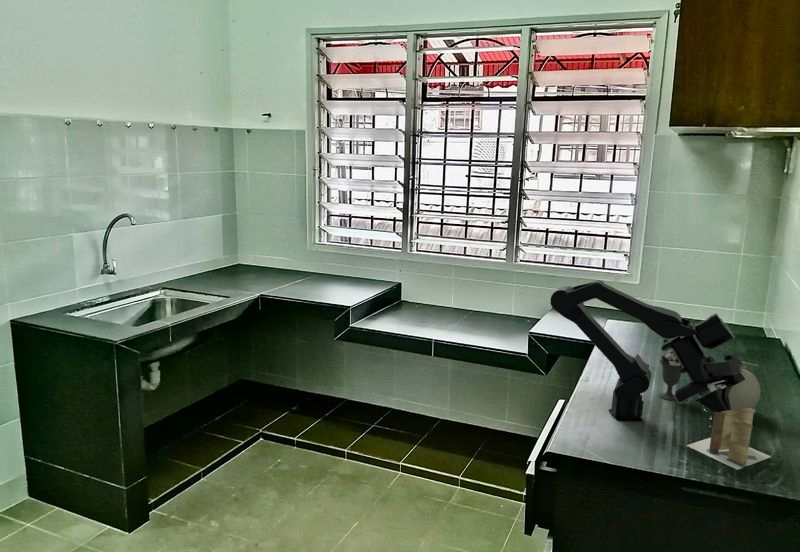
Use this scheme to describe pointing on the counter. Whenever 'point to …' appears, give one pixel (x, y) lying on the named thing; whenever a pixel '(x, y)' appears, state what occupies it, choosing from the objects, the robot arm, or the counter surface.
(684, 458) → the counter surface
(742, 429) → the wooden plank
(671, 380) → the sundae
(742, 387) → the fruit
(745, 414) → the fence panel
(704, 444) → the card
